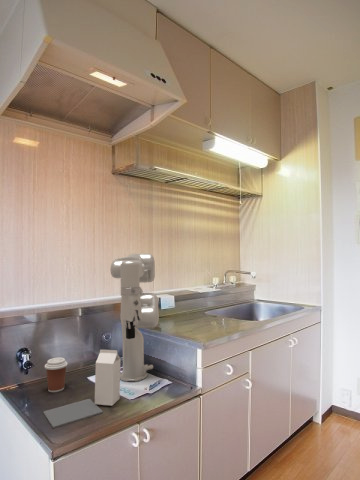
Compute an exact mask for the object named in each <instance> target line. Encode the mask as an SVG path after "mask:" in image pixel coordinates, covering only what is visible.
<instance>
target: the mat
mask: <svg viewBox="0 0 360 480" xmlns="http://www.w3.org/2000/svg"><path fill="white" fill-rule="evenodd" d="M42 412H43V415H44V417H45V418H46V420H47V421H48V422H49V424H50V426H51V427H52V429H57V428H59V427H62V426H65V425H69V424H72V423H75V422H78V421H82V420H84V419H88V418H91V417H94V416H97V415H100V414H103V413H104V411H103V410H102V409H101V408H100V407H99V406H98V404H95V401H93V400H92V399H91V398H87V399H83V400H80V401H76V402H72V403H68V404H66V405H63V406H62V405H61V406H59V407H55V408H51V409H47V410H44V411H42Z"/></svg>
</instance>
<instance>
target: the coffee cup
mask: <svg viewBox="0 0 360 480" xmlns="http://www.w3.org/2000/svg"><path fill="white" fill-rule="evenodd" d="M46 362H47V363H45V364H44V369H45V370H46V378H47V381H46V382H47V391H48V392H49V393H59V392H62V391H63V390H64V389H65V383H66V370H67V366H68V365H69V363H68V361H66V358H64V357H54V358H49V359H48V360H47V361H46Z"/></svg>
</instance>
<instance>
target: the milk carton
mask: <svg viewBox="0 0 360 480" xmlns="http://www.w3.org/2000/svg"><path fill="white" fill-rule="evenodd" d="M120 373H121V357H120V356H119V354H118V350H116V349H115V350H114V349H100V350H99V354H98V357H97V359H96V361H95V373H94V375H95V376H94V377H95V379H94V380H95V381H94V403H95V404H96V405H100V406H101V405H102V406H114V404H116V403H117V402H118V401H119V400H120V397H121V396H120V393H121V379H120Z"/></svg>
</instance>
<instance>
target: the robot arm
mask: <svg viewBox="0 0 360 480" xmlns="http://www.w3.org/2000/svg"><path fill="white" fill-rule="evenodd" d="M155 261H156V260H155V258H154V255H152V254H151V253H131V254H129V255H128V256H123V257H120V258H114V259H113V260H112V261H111V265H110V275H111V277H112V278H114V279H120V296H121V297H120V299H121V300H120V318H119V319H120V324H121V331H122V334H121V335H122V372H120V381H122V382H123V381H124V382H127V381H135V382H139V381H138V380H140V381H142V380H141V379H143V380H145V379H146V378H147V377H148V371H150V370H153V369H154V365H153V364H145V357H144V355H145V353H144V350H145V348H144V343H145V342H144V339H145V338H144V335H143V334H142V332H141V331H140V329H141V328H142V329H144V328H155V327H156V326H158V324H159V320H160V316H159V315H160V313H159V311H160V310H159V301H158V296H157V295H156V294H155V293H154V292H143V289H142V287H141V286H140V283H141V284H142V283H144V284H145V283H153V282H154V280H155V277H156V270H155V269H156V263H155ZM144 378H145V379H144Z"/></svg>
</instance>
